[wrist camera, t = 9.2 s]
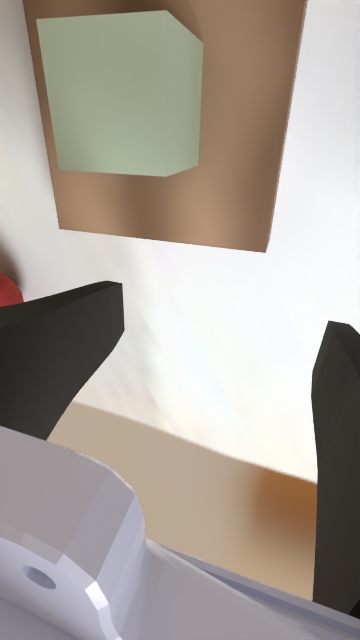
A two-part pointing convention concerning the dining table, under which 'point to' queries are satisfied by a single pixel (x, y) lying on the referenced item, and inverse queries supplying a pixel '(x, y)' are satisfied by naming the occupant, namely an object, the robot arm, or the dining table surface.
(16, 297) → the onion
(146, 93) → the sage cube
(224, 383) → the dining table surface
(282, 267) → the dining table surface
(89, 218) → the light brown block
